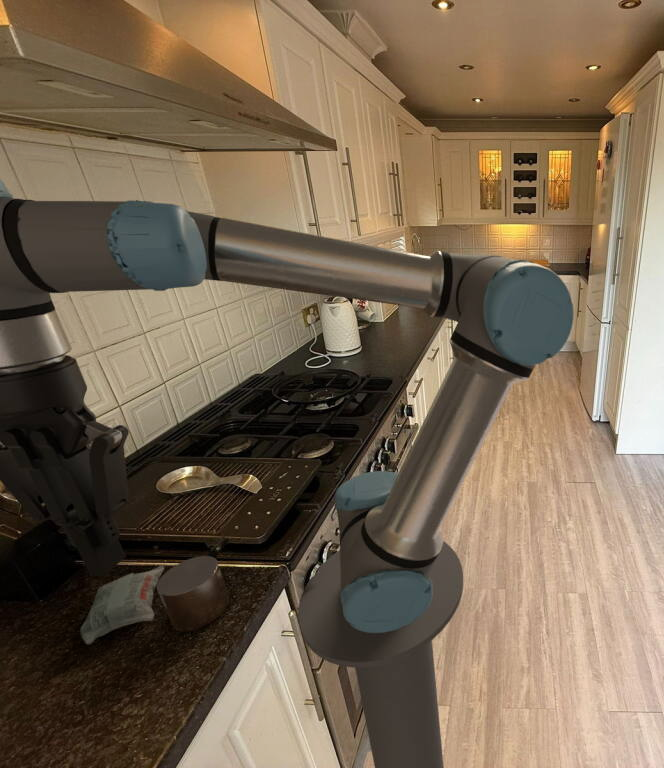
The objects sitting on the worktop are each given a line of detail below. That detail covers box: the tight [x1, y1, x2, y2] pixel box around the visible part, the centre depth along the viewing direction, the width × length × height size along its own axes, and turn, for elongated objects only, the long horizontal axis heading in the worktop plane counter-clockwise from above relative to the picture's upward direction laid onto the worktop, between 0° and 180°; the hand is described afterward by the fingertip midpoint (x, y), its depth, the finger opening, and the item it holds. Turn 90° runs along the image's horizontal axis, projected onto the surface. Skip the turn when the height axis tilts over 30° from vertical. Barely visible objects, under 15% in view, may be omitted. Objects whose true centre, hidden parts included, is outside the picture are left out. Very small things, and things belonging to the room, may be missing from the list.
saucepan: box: [156, 535, 230, 633], centre depth 71 cm, size 8×15×8 cm, turn 7°
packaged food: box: [80, 565, 165, 645], centre depth 68 cm, size 9×12×5 cm
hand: (108, 565), depth 45 cm, fingers closed
